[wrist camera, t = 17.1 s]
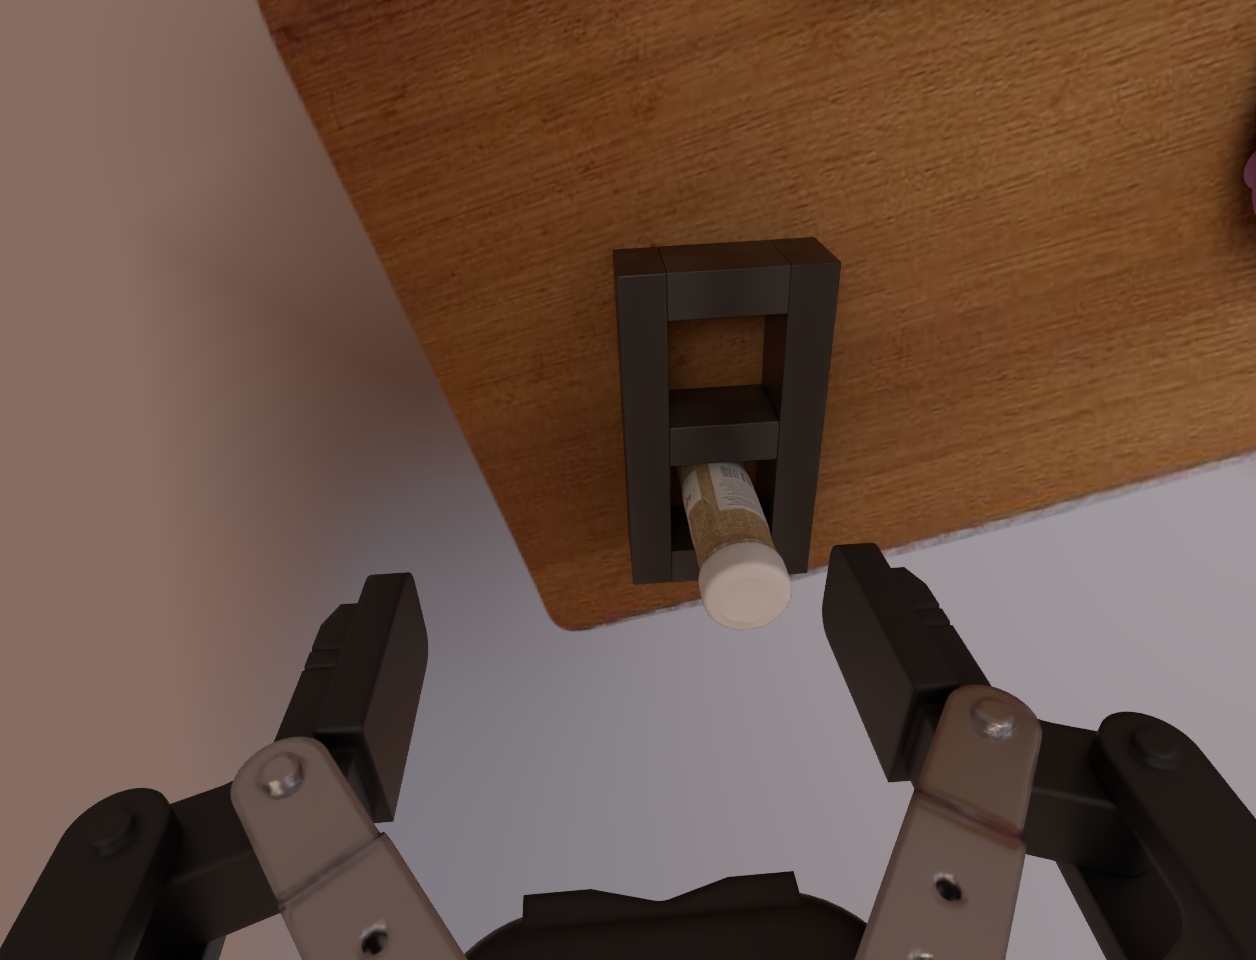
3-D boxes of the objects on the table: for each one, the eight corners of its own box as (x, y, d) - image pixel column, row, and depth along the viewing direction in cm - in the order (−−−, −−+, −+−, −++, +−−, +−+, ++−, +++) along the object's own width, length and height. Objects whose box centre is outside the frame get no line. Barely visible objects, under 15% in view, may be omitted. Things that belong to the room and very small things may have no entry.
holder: (629, 538, 50) (633, 585, 46) (612, 249, 40) (616, 275, 36) (788, 527, 51) (807, 573, 46) (814, 236, 40) (841, 261, 36)
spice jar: (660, 461, 47) (684, 599, 36) (714, 418, 46) (758, 548, 34) (703, 503, 49) (739, 647, 38) (757, 463, 48) (812, 600, 36)
